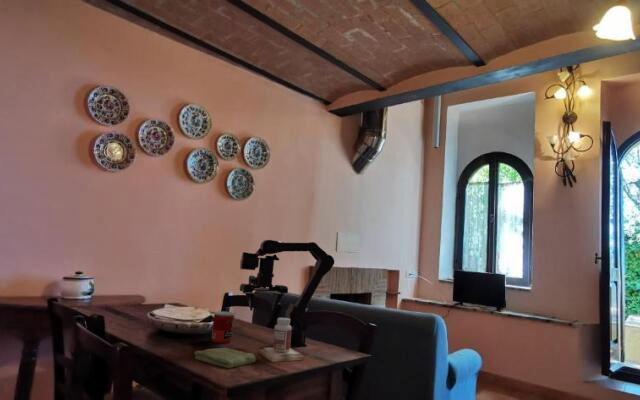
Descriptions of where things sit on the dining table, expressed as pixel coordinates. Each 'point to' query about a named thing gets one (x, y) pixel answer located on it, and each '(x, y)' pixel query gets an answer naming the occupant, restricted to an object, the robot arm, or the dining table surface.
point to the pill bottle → (282, 335)
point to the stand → (280, 355)
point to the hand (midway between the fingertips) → (262, 310)
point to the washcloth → (225, 357)
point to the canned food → (223, 327)
